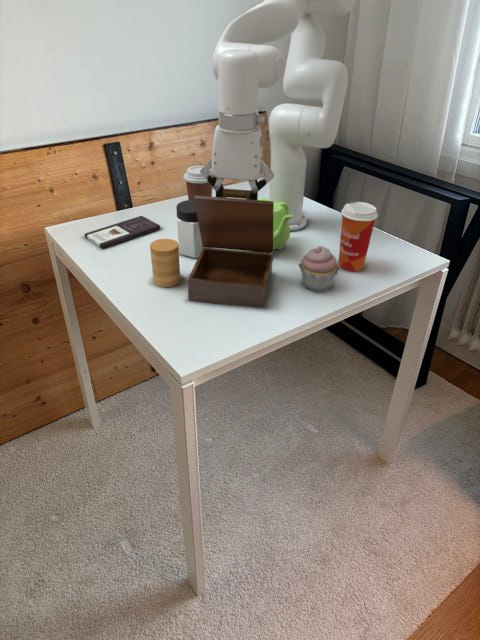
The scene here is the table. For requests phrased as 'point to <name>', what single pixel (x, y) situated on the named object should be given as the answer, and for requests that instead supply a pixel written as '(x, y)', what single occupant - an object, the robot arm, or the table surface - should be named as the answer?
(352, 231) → the coffee cup
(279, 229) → the teapot
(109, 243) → the chocolate bar
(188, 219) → the jar
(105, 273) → the table surface
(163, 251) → the cookie stack
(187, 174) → the coffee cup
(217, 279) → the chest
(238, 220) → the lid
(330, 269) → the cupcake
